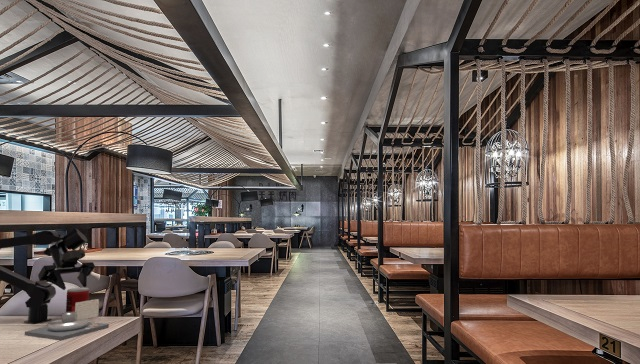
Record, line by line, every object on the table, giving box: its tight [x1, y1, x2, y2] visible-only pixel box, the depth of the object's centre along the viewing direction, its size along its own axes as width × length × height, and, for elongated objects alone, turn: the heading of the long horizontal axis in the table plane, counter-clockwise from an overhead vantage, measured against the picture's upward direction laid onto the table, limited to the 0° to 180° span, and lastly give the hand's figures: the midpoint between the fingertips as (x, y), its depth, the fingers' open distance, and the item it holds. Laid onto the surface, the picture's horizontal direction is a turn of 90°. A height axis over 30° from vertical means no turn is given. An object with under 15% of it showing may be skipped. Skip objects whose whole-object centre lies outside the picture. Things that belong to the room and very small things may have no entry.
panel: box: [24, 321, 110, 341], centre depth 147 cm, size 18×18×1 cm
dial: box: [47, 298, 100, 331], centre depth 150 cm, size 16×12×8 cm
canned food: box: [65, 287, 90, 312], centre depth 171 cm, size 8×8×11 cm
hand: (75, 287), depth 158 cm, fingers open, 7 cm apart
